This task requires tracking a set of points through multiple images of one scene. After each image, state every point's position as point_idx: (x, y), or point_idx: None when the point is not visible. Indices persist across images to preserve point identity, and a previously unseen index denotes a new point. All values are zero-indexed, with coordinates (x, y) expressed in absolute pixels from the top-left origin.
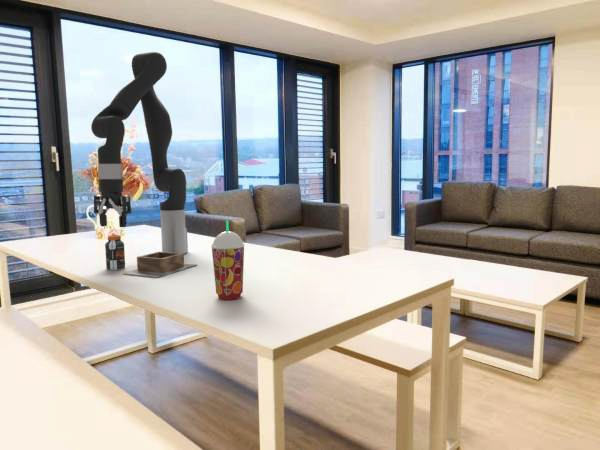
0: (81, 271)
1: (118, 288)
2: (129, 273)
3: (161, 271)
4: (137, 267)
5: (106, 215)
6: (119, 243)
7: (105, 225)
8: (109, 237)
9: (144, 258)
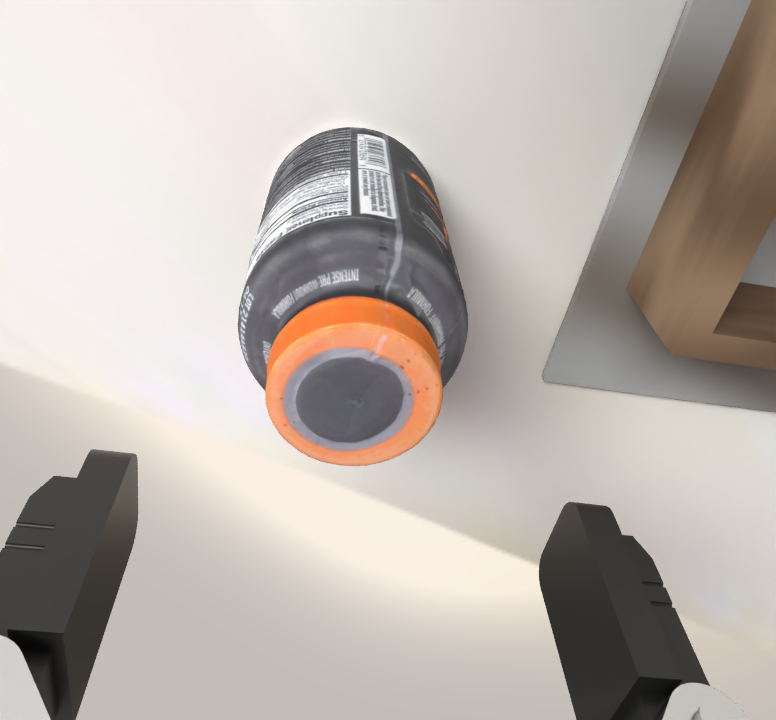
0: (141, 357)
1: (677, 604)
2: (604, 381)
3: None
4: (636, 302)
5: (65, 622)
6: (453, 371)
7: (136, 481)
8: (340, 458)
9: (755, 361)
